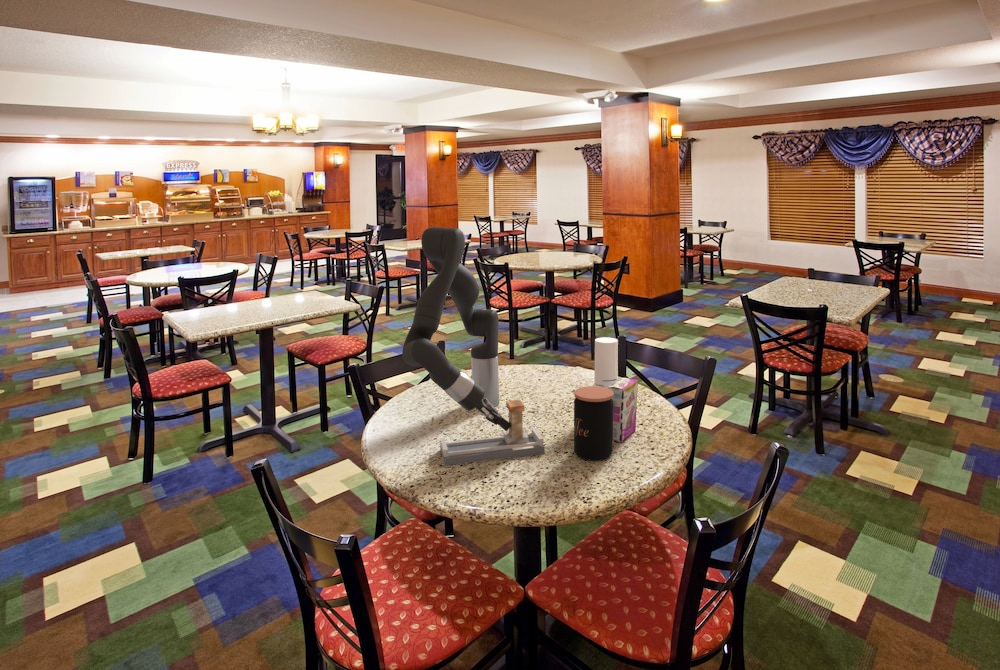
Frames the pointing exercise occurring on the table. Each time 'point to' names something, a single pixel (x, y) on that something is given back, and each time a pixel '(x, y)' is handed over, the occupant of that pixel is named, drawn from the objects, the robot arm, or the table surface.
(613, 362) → the cylindrical container
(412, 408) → the table surface
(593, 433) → the coffee jar
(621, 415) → the candy bar box
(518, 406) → the slider
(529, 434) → the track
